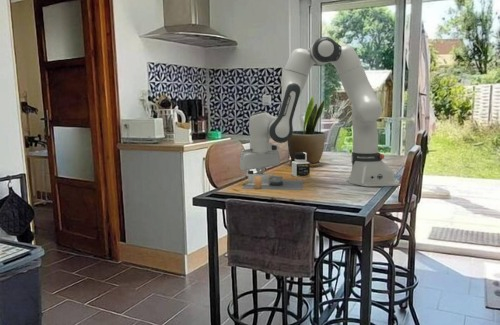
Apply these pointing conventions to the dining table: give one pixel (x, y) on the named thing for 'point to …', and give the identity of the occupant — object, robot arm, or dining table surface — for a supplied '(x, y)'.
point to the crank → (265, 178)
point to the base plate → (285, 186)
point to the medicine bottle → (300, 165)
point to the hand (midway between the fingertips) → (260, 177)
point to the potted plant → (308, 136)
